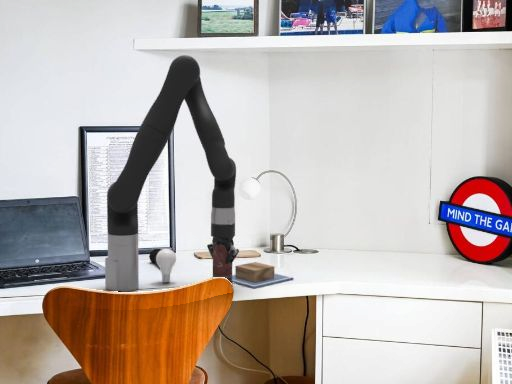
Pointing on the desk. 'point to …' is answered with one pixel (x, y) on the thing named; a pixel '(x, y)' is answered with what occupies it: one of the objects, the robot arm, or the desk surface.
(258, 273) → the plinth
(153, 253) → the microphone
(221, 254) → the maroon rounded block
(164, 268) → the lightbulb
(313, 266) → the desk surface
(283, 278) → the board
